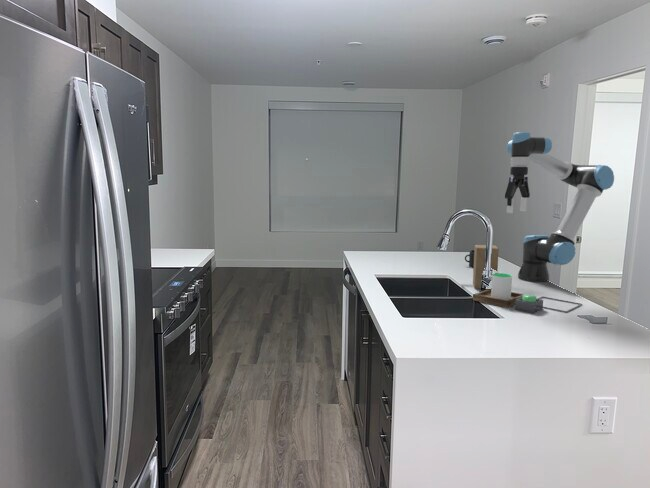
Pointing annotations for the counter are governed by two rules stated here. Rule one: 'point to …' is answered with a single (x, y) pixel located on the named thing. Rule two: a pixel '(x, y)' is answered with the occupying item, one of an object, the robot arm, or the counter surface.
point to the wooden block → (483, 263)
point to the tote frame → (563, 301)
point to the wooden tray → (486, 298)
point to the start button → (529, 298)
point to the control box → (529, 305)
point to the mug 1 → (470, 258)
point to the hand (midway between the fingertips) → (516, 212)
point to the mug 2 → (501, 286)
